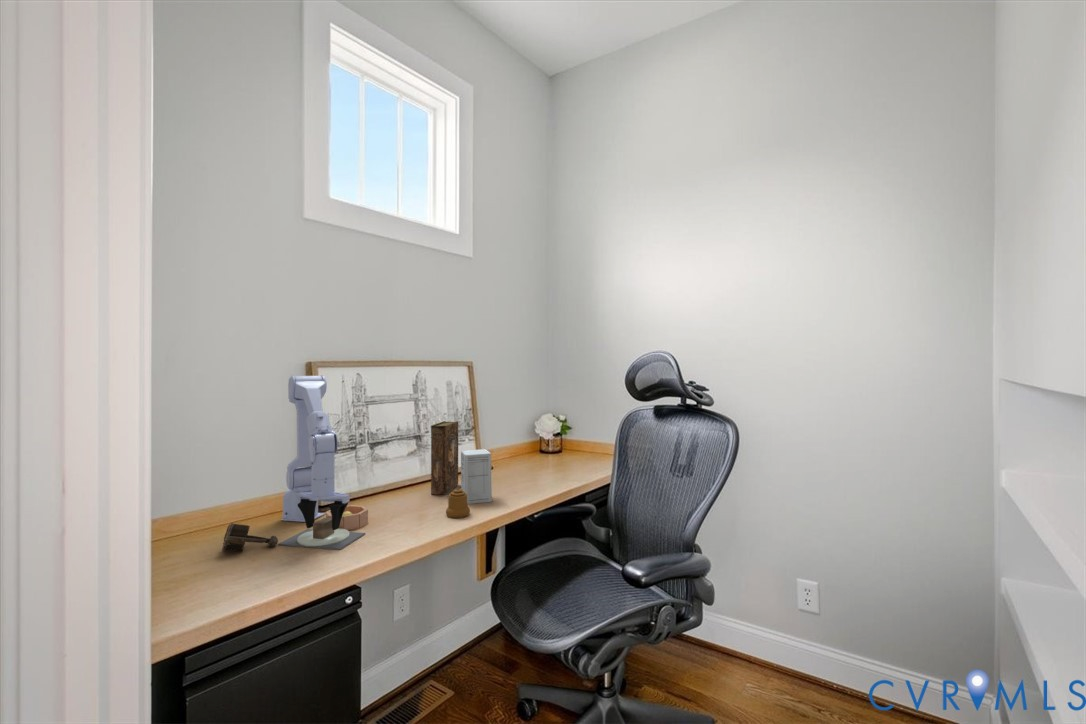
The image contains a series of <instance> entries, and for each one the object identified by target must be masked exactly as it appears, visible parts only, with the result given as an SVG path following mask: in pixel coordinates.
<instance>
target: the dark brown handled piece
mask: <svg viewBox="0 0 1086 724" xmlns="http://www.w3.org/2000/svg"><path fill="white" fill-rule="evenodd" d="M249 531H250V525H247V524H241V523H239V524H238V523H230V524H228V526H227V529H226V531H225V533H224V537H223V543H222V548H221V552H225V551H233V552H243V549H244V547H245V544H246V543H254V544H255V543H256V544H268V546H269V547H270V548H274V547H275V546H277V545H278V543H279V539H278V537H277V536H276V535H272V536H270V537H262V536H257V535H256V536H255V535H248V534H249Z"/></svg>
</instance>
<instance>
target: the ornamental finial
mask: <svg viewBox="0 0 1086 724" xmlns="http://www.w3.org/2000/svg"><path fill="white" fill-rule="evenodd" d="M447 504H448V507H447V508H446V510H445V514H446V516H447V517H448V518H450V517H451V518H450V519H461V517H463V518H466V517H468V516H469V515H470V512H471V509H470V507H469V504H467V494H466V493H465V492H464V491H463V490H462V489H461V488H454V489H453V491H450V493H449V494H448V503H447Z"/></svg>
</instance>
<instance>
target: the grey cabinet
mask: <svg viewBox="0 0 1086 724" xmlns="http://www.w3.org/2000/svg"><path fill="white" fill-rule="evenodd" d="M460 486H461V487H460V489H462V490H463V491H464V492H465V493H466V494H467V504H468V505H470V504H471V505H472V504H482V503H483V504H484V503H491V502H492V500H493V499H492V453H491V452H490V451H488V450H487V449H486V448H484V449H469V450H468V449H467V450H461V451H460Z"/></svg>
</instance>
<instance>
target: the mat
mask: <svg viewBox="0 0 1086 724" xmlns="http://www.w3.org/2000/svg"><path fill="white" fill-rule="evenodd" d="M312 530H313V528H306V529H305V530H303V531H300V532H298V533H296V534H294V535H292V536H290V537H287V539H284V540H282V541H281V542H278V543H277V545H278V546H283V547H297V548H299V547H300V548H308V549H309V548H310V549H320V550H321V549H323V550H336V551H340V550H341V551H342V550H343V549H345V548H346V547H347V546H349V545H350V544H353V543H354V542H355V541H358V540H359V539H360V538H362V537H363V536H365V535H366V532H357V531H349V537H348V538H347V539H345V540H343V541H341V542H338V543H335V544H331V545H325V546H303V545H300V544H298V543H297V538H298V537H299V536H300V535H302V534H304V533H306V532H309V531H312Z"/></svg>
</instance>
